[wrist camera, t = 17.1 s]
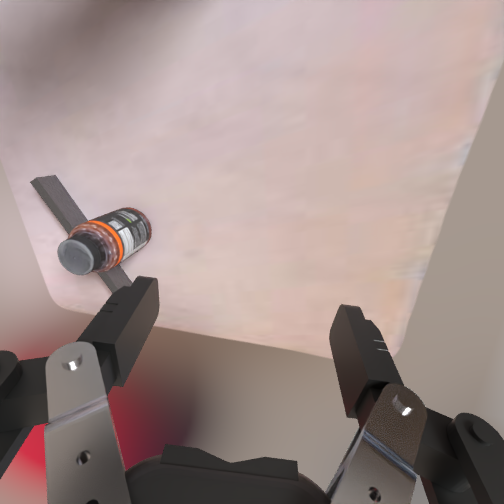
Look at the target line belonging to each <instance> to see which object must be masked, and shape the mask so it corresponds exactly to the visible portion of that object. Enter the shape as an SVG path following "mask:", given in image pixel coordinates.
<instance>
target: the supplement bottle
mask: <svg viewBox="0 0 504 504" xmlns="http://www.w3.org/2000/svg"><path fill="white" fill-rule="evenodd" d="M150 238H151V225H150V223H149V221H148V219H147V218H146V216H145V215H144V214H143V213H141V212H140V211H138V210H136V209H134V208H121V209H119V210H116V211H113V212H110V213H108V214H105V215H103V216H100V217H97V218H95V219H92V220H89V221H87V222H84V223H82V224H79V225H78V226H76V227H75V228H73V230H72V231H71V232H70V234H69V237H68V239H67V240H65V241H63V242H62V243H61V244H60V245H59V247H58V257H59V260H60V262H61V264H62V265H63V267H64V268H65V269H67V270H68V271H69V272H71V273H73V274H76V275H85V274H88V273H90V272H105V271H108V270H110V269H112V268H113V267H115V266H116V265H118V264H119V263H121V262H122V261H124V260H125V259H126V258H128V257H129V256H131V255H132V254H134V253H135V252H138V250H139V249H141V248H142V247H144V246H145V245H146V244H147V243H148V242H149V240H150Z"/></svg>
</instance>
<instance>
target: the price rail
mask: <svg viewBox="0 0 504 504" xmlns="http://www.w3.org/2000/svg"><path fill="white" fill-rule="evenodd" d="M30 183H31V184H32V185H33V187H34V188H35V189H36V191H37V192H38V193H39V195H40V196H41V197H42V199H43V200H44V201H45V203H46V204H47V205H48V207H49V208H50V209H51V211H52V212H53V213H54V215H55V216H56V218H57V219H58V220H59V222H60V223H61V224H62V226H63V227H64V228H65V230H66V231H67V232H68V234H70V232H71V231H72V230H73V228H75V227H76V226H78V225H79V224H82V223H84V222H87V221H88V220H87V219H86V218H85V216H84V215H83V213H82V212H81V211H80V209H79V208H78V206H77V205H76V203H75V202H74V201H73V199H72V198H71V196H70V195H69V194H68V192H67V191H66V189H65V188H64V187H63V185H62V184H61V182H60V181H59V180H58V178H57V177H56V175H53V176H45V177H37V178H35V179H34V180H32V181H31V182H30ZM97 273H98V274H99V275H100V277H101V278H102V279H103V281H104V282H105V283H106V285H107V286H108V288H109V289H110V290H111V292H112V293H114V292H115V291H117V290H118V289H120V288H121V287H123V286H129V287H130V286H131V285H132V282H131V281H130V279H129V278H128V277H127V275H126V274H125V272H124V271H123V269H122V268H121V267H120V265H119V264H118V265H116V266H115V267H113V268H112V269H110V270H108V271H105V272H97Z"/></svg>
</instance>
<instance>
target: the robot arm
mask: <svg viewBox="0 0 504 504" xmlns="http://www.w3.org/2000/svg"><path fill="white" fill-rule="evenodd" d="M158 312H159V291H158V280H157V278H151V277H144V276H138V277H137V278H136V279H135V281H134V282H133V284H132V285H131V286H130V287H129V286H123V287H121V288H120V289H118V290H117V291H115V292H114V293H113V294H112V295H111V296H110V298H109V299H108V300H107V302H106V304H104V305H103V307H102V308H101V309H100V312H98V313H97V315H96V316H95V318H94V319H93V320H92V321H91V323H90V324H89V325H88V327H87V328H86V329H85V330H84V332H83V333H82V334H81V336H80V337H79V338H78V340H77V341H76V342H73V343H69V344H66V345H64V346H62V347H60V348H59V349H58V350H56V351H55V352H54V353H53V354H51V356H48V357H43V358H35V359H28V360H21V361H19V360H18V358H17V356H16V355H15V354H14V353H12V352H10V351H0V479H1V477H2V476H3V474H4V473H5V471H6V469H7V468H8V466H9V465H10V463H11V462H12V460H13V458H14V457H15V455H16V454H17V452H18V450H19V449H20V447H21V446H22V444H23V443H24V441H25V439H26V438H27V436H28V435H29V433H30V431H31V430H32V428H33V427H34V426H35V425H40V424H44V423H48V424H46V425H45V430H44V432H45V433H44V437H45V438H44V439H45V457H46V458H45V459H46V479H47V500H48V504H410V503H411V500H412V496H413V492H414V488H415V484H416V479H417V474H418V475H420V478H421V481H422V483H423V486H424V490H425V493H426V496H427V499H428V501H429V504H504V440H503V438H502V437H501V436H500V435H499V433H498V432H497V431H496V430H495V429H494V428H493V427H492V426H491V425H490V424H489V423H487V422H486V421H484V420H483V419H481V418H480V417H478V416H476V415H473V414H469V413H460V414H458V415H457V416H456V417H455V418H454V419H452V418H449V417H447V416H445V415H442V414H440V413H438V412H435V411H433V410H431V409H429V408H426V407H425V405H424V403H423V402H422V400H421V399H420V397H419V396H418V395H417V394H416V393H414V392H413V391H412V390H411V389H409V388H407V387H405V386H404V384H403V382H402V380H401V377H400V375H399V373H398V371H397V369H396V366H395V364H394V362H393V359H392V357H391V355H390V353H389V352H388V348H387V346H386V344H385V343H384V339H383V337H382V335H381V332H380V330H379V329H378V328H377V327H376V326H375V325H374V323H373V322H372V321H371V320H365V318H364V315H363V313H362V310H361V308H360V307H358V306H351V305H343V304H341V305H340V306H339V309H338V311H337V314H336V316H335V319H334V321H333V324H332V327H331V329H330V336H329V340H330V346H331V350H332V355H333V359H334V363H335V368H336V372H337V377H338V381H339V385H340V390H341V394H342V398H343V403H344V407H345V412H346V416H347V417H348V418H356V419H358V423H359V428H358V429H357V431H356V433H355V436H354V437H353V439H352V441H351V443H350V445H349V447H348V450H347V451H346V453H345V455H344V457H343V460H342V462H341V463H340V465H339V468H338V469H337V472H336V473H335V475H334V477H333V479H332V480H331V482H330V484H329V486H328V488H327V490H326V491H325V492H324V491H323V490H322V489H321V488H320V487H319V486H318V485H317V484H315V483H314V482H313V481H312V480H310V479H309V478H307V477H306V476H304V475H303V474H301V473H299V472H298V467H297V461H292V460H285V459H277V458H269V457H263V458H257V459H251V460H246V461H241V462H234V463H230V462H227V461H224V460H222V459H220V458H217V457H216V456H214V455H211V454H209V453H207V452H205V451H203V450H200V449H198V448H192V447H184V446H176V445H168V444H165V447H164V450H163V454H162V455H157V456H154V457H151V458H148V459H146V460H143V461H141V462H139V463H137V464H136V465H134V466H132V467H131V468H129V469H128V470H127V471H125V467H124V463H123V459H122V455H121V451H120V447H119V443H118V439H117V434H116V430H115V426H114V422H113V418H112V413H111V409H110V405H109V401H108V397H107V396H108V394H109V392H110V390H111V388H112V386H120V387H123V386H124V383H125V382H126V380H127V377H128V375H129V373H130V372H131V369H132V367H133V365H134V363H135V361H136V359H137V357H138V355H139V353H140V351H141V349H142V347H143V345H144V343H145V341H146V339H147V337H148V335H149V333H150V331H151V329H152V327H153V325H154V323H155V321H156V319H157V316H158Z"/></svg>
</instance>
